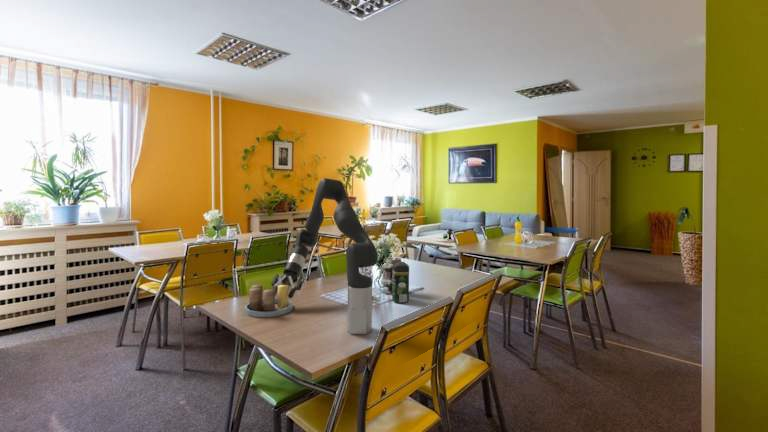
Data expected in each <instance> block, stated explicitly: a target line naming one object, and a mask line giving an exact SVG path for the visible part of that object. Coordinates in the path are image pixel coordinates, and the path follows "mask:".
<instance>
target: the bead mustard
mask: <svg viewBox="0 0 768 432" xmlns="http://www.w3.org/2000/svg"><path fill="white" fill-rule="evenodd" d="M288 295H289V286H288V285H279V286H278V291H277V298H278V303H277V310H280V309H284V308H286V307H288V306H289V299H290V298H289V297H288Z"/></svg>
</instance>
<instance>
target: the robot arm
mask: <svg viewBox="0 0 768 432" xmlns="http://www.w3.org/2000/svg"><path fill="white" fill-rule="evenodd" d="M324 199H325V200H331V201H335V202H336V204H337V205H336V207H335V209H334V212H333V220H334V222H335V225H336V227H337V229H338V230H339V231H340V232H341V233H342V234H343V235H344V236H346V237H347V238H349V239H350V240H352V241H353V243H349V244H348V246H347V247H346V250H345V251H346V253H345V257H346V258H345V259H346V260H345V261H346V279H347V308H346V309H347V314H346V315H347V317H346V318H347V326H346V330H347V332H348V333H349V334H350V335H367V334H369V333H370V332H372V327H373V325H372V324H373V323H372V322H373V321H372V320H373V319H372V317H373V316H372V315H373V313H372V312H373V279H372V276H369V275H367V274H362V273H361V272H360V269H361V268H369V267H373V266H375V265H376V264H377V263H378V260H379V259H378V255H379V254H378V251H377V248H376V247H375V244H374V243H373V240H371V238H370V236H369V235H368V233H367V232H366V231H365V229H364V227H363V226H362V223H361V222H360V220H359V217H358V214H357V213H356V211H355V210H354V207H353V205H352V204H351V201H350V199H349V197H348V194H347V190H346V187H345V185H344V184H343V182H342V181H341V180H339V179H332V178H328V177H323V178H321V179H320V180H319V182H318V185H317V187H316V190H315V195H314V198H313V202H312V206H311V210H310V213H309V215H308V217H307V220H306V222H305V224H304V228H301V229H299V230H298V231H297V233H296V235H295V245H294V247H293V251H292V253H291V255H290V256H289V258H288V259H287V262H286V264H285V266H284V269H283V272H282V274H280V275H279V274H278V273H276V274H275V275H274V277H273V279H272V280H271V283H270V285H271V286H272V289H274V290H275V296H277V294H278V286H279V285H288V287H291V288H290V290H289V291H288V299H293V297H294V295H295V293H296V292H297V291H301V289H302V286H303V283H304V280H305V279H304V277H303V276H302V275H300V274H301V273H302V270H303V268H304V266H305V262H306V259H307V257H308V254H309V253H310V252H309V249H308V247H309V248H313V247H315V246H316V245H317V243H318V240H319V239H318V238H319V237H318V236H319V231H320V228H321V226H322V224H323V221H324V218H325V215H324V210H323V206H322V203H323V201H324ZM296 282H297V284H296Z"/></svg>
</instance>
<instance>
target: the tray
mask: <svg viewBox="0 0 768 432" xmlns="http://www.w3.org/2000/svg"><path fill="white" fill-rule="evenodd" d="M275 304H278V297H275ZM293 306H294V304H293V302H292V300H289V306H288V307H286V308H284V309H280V310H279V309H275V311H268V312H264V300H263V308H262V311H261V312H257V311H252V310H250V308H249V302H248V303H246V304H245V305H244V314H245V315H247V316H249V317H254V318H273V317H278V316H282V315H285V314H287V313H289V312H291V311H292V310H293V308H294V307H293Z"/></svg>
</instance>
